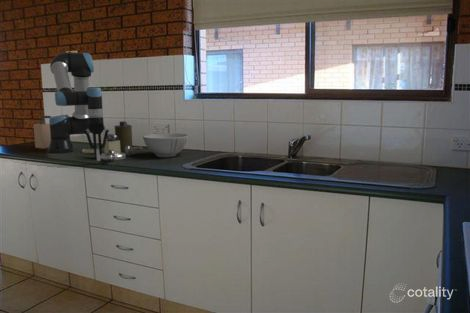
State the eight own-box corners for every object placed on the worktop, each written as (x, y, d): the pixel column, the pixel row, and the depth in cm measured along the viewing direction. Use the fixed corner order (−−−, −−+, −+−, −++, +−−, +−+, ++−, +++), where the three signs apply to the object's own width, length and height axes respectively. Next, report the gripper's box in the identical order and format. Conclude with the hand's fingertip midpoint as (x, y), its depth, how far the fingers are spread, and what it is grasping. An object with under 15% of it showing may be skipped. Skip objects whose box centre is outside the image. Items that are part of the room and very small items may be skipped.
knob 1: (108, 160, 239) (108, 149, 238) (114, 160, 240) (114, 149, 239) (107, 164, 228) (107, 153, 227) (113, 163, 229) (113, 152, 228)
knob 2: (126, 156, 252) (126, 146, 251) (124, 155, 255) (123, 145, 254) (144, 153, 260) (143, 144, 259) (141, 153, 263) (140, 143, 262)
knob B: (101, 156, 252) (100, 146, 251) (98, 157, 249) (97, 147, 248) (84, 156, 255) (83, 146, 254) (81, 156, 252) (80, 146, 251)
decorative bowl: (187, 158, 243) (187, 137, 241) (140, 159, 242) (139, 138, 240) (190, 151, 269) (189, 132, 267) (147, 152, 268) (146, 133, 266)
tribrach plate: (94, 158, 248) (92, 134, 246) (118, 155, 258) (116, 132, 256) (106, 161, 237) (105, 136, 235) (130, 158, 247) (129, 134, 245)
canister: (128, 155, 258) (127, 122, 254) (112, 154, 260) (111, 122, 257) (136, 152, 268) (134, 120, 265) (121, 152, 270) (119, 120, 267)
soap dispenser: (35, 147, 294) (32, 115, 290) (46, 146, 301) (43, 115, 298) (47, 148, 288) (44, 116, 284) (58, 147, 295) (55, 115, 291)
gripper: (82, 117, 221) (85, 162, 225) (108, 117, 224) (110, 161, 227) (83, 116, 228) (86, 160, 232) (108, 116, 231) (111, 158, 235)
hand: (98, 160), depth 230 cm, fingers closed
